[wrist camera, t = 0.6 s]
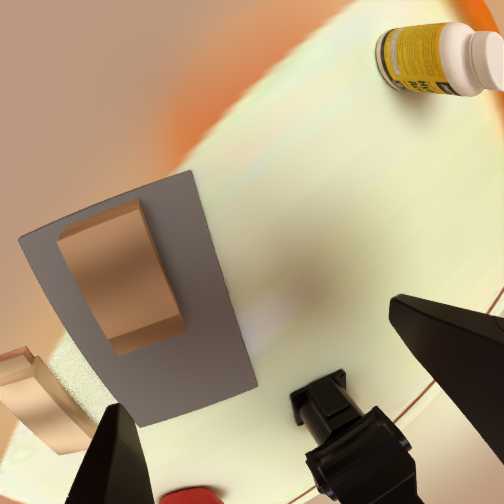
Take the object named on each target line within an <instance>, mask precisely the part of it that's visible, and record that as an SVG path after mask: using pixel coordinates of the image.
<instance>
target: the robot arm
mask: <svg viewBox="0 0 504 504" xmlns="http://www.w3.org/2000/svg"><path fill="white" fill-rule="evenodd" d="M389 321H390V323H391V325H392V326H393V327H394V329H395V330H396V332H397V333H398V334H399V336H400V337H401V339H402V340H403V341H404V343H405V344H406V346H407V347H408V349H409V350H410V351H411V353H412V354H413V355H414V356H415V358H416V359H417V360H418V361H419V362H420V363H421V365H422V366H423V367H424V368H425V369H426V370H427V372H428V373H429V374H430V375H431V376H432V377H433V378H434V380H435V381H436V382H437V383H438V384H439V385H440V387H441V388H442V389H443V390H444V391H445V393H446V394H447V395H448V396H449V397H450V398H451V400H452V401H453V402H454V403H455V404H456V406H458V408H459V409H460V410H461V412H462V413H463V414H464V415H465V416H466V418H467V419H468V420H469V421H470V422H471V424H472V425H473V426H474V428H475V429H476V430H477V431H478V433H479V434H480V435H481V437H482V438H483V439H484V440H485V442H486V443H487V444H488V445H489V446H490V448H491V449H492V450H493V451H494V453H495V454H496V455H497V457H498V458H499V459H500V461H501V462H502V463H503V465H504V318H501V317H497V316H493V315H492V316H491V315H489V314H485V313H480V312H476V311H472V310H468V309H463V308H459V307H455V306H451V305H447V304H443V303H438V302H434V301H430V300H426V299H422V298H417V297H413V296H409V295H405V294H398V295H396V296H394V297H392V298H391V300H390V306H389ZM290 400H291V405H292V409H293V413H294V417H295V422H296V424H297V426H301V425H303V424H305V425H306V427H307V428H308V430H309V432H310V433H311V435H312V436H313V438H314V440H315V441H316V443H317V444H318V446H319V447H317V448H315V449H314V450H312V451H309V452H307V453H306V454H305V455H306V457H307V460H306V461H305V462H306V464H307V465H308V467H309V469H310V471H311V473H312V475H313V478H314V481H315V484H316V487H317V490H318V492H319V493H321V494H326V495H327V496H328V497H330V498H331V499H332V500H333V501H336V500H339V502H340V503H341V504H424V503H423V501H422V500H421V499H420V498H419V496H418V495H417V481H416V464H415V461H414V459H413V458H412V457H411V455H410V454H409V453H408V451H410V450H411V449H412V447H411V445H410V443H409V442H408V440H407V439H406V438H405V436H404V435H403V434H402V432H401V431H400V430H399V429H398V428H397V426H396V425H395V424H394V423H393V422H392V421H391V420H390V419H389V418H388V417H387V416H386V415H385V414H384V413H383V412H382V411H381V410H380V409H379V408H378V406H377V405H376V406H375V407H373V408H372V410H371V411H369V412H368V413H367V414H364V413H363V412H362V410H361V409H360V408H359V407H358V405H357V404H356V403H355V402H354V400H353V399H352V398H351V397H350V395H349V394H348V393H347V392H346V372H345V371H344V370H340V371H338V372H336V373H334V374H332V375H330V376H328V377H326V378H324V379H322V380H320V381H318V382H316V383H314V384H312V385H309V386H307V387H305V388H303V389H301V390H299V391H297V392H294V393H293V394H291V395H290ZM68 496H69V497H67V499H66V501H65V504H155V503H154V498H153V493H152V489H151V484H150V478H149V473H148V468H147V464H146V461H145V457H144V454H143V450H142V447H141V443H140V440H139V436H138V432H137V429H136V425H135V422H134V420H133V418H132V417H131V415H130V414H129V413H128V411H127V410H126V409H125V407H124V406H123V405H122V404H121V403H115V404H112V405H109V406H108V407H107V408H106V410H105V412H104V414H103V417H102V419H101V421H100V423H99V425H98V427H97V430H96V432H95V434H94V436H93V438H92V441H91V443H90V445H89V447H88V449H87V452H86V454H85V456H84V459H83V461H82V463H81V465H80V468H79V470H78V472H77V475H76V477H75V480H74V482H73V484H72V487H71V489H70V492H69V494H68Z"/></svg>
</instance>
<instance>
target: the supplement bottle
mask: <svg viewBox="0 0 504 504" xmlns="http://www.w3.org/2000/svg"><path fill="white" fill-rule="evenodd" d="M376 56H377V62H378V66H379V68H380V71H381V73H382V75H383V77H384V78H385V79H386V81H387V82H388V83H389V84H390V85H391V86H393V87H394V88H396V89H399V90H402V91H412V92H427V93H438V94H449V95H457V96H468V97H471V96H476V95H478V94H480V93H481V92H482V91H483V89H484V88H485V89H488V90H494V91H502V92H503V91H504V40H503V38H502V37H501V36H500V35H499V34H498V33H496V32H492V31H477V32H475V31H474V30H473V29H471V28H470V27H469V26H467V25H465V24H463V23H459V22H449V23H437V24H426V25H418V26H410V27H403V28H396V29H391V30H388V31H386V32H385V33H383V34H382V36H381V37H380V38H379V40H378V43H377V49H376Z"/></svg>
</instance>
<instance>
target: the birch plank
mask: <svg viewBox="0 0 504 504" xmlns="http://www.w3.org/2000/svg"><path fill="white" fill-rule="evenodd" d="M0 400H1V401H2V402H3V403H4V404H5V405H6V406H7V407H8V408H9V409H10V410H11V412H13V414H14V415H15V416H16V417H17V418H18V419H19V420H20V421H21V422H22V423H23V424H24V425H25V426H27V427H28V428H29V429H30V430H31V431H32V432H33V433H34V434H35V435H36V436H37V437H38V438H39V439H40V440H42V441H43V442H44V443H45V444H46V445H47V446H48V447H50V448H51V449H52V450H53V451H54V452H55V453H57V454H58V455H64V454H69V453H75V452H80V451H85V450H87V449H88V447H89V445H90V443H91V441H92V438H93V436H94V434H95V432H96V430H97V427H98V426H97V425H96V424H95V423H94V422H93V421H92V420H91V419H90V418H89V417H88V415H87V414H86V413H85V412H84V411H83V410H82V409H81V408H80V407H79V406H78V404H77V403H76V402H75V401H74V400H73V399H72V398H71V396H70V395H69V394H68V393H67V392H66V390H65V389H64V388H63V387H62V386H61V384H60V383H59V382H58V381H57V379H56V378H55V377H54V376H53V374H52V373H51V372H50V371H49V369H48V368H47V367H46V364H45V363H44V362H43V360H42V359H41V358H40V357H39V356H35V357H34V356H33V355H32V353H31V352H30V351H29V349H28V348H27V346H24V347H21V348H19V349H15V350H13V351H10V352H7V353H4V354H1V355H0Z"/></svg>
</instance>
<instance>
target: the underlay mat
mask: <svg viewBox="0 0 504 504" xmlns="http://www.w3.org/2000/svg"><path fill="white" fill-rule="evenodd" d="M137 198H139V201H140V204H141V207H142V210H143V213H144V215H145V218H146V221H147V224H148V227H149V229H150V232H151V235H152V237H153V240H154V243H155V246H156V248H157V251H158V253H159V256H160V259H161V261H162V264H163V266H164V269H165V271H166V274H167V277H168V279H169V281H170V284H171V286H172V289H173V291H174V294H175V298H176V301H177V305H178V308H179V310H180V313H181V315H182V317H183V320H184V322H185V324H186V327H187V331H188V332H185V333H182V334H180V335H177V336H174V337H171V338H168V339H166V340H163V341H160V342H157V343H154V344H152V345H149V346H146V347H143V348H140V349H137V350H134V351H131V352H128V353H125V354H122V355H119V356H118V355H117V353H116V352H115V350H114V349H113V347H112V345H111V344H110V342H109V340H108V339H107V337H106V336H105V334H104V332H103V331H102V329H101V327H100V325H99V324H98V322H97V320H96V319H95V317H94V315H93V313H92V311H91V310H90V308H89V306H88V304H87V302H86V301H85V299H84V297H83V295H82V293H81V291H80V289H79V287H78V286H77V284H76V282H75V280H74V278H73V276H72V274H71V272H70V270H69V268H68V266H67V264H66V261H65V259H64V257H63V255H62V253H61V251H60V249H59V246H58V244H57V240H58V238H59V236H60V235H61V233H62V231H63V229H64V228H65V227H66V226H68V225H71V224H73V223H76V222H78V221H80V220H83V219H85V218H88V217H90V216H93V215H95V214H98V213H100V212H103V211H105V210H108V209H110V208H113V207H116V206H118V205H121V204H123V203H126V202H129V201H131V200H134V199H137ZM18 241H19V244H20V246H21V248H22V250H23V252H24V254H25V256H26V258H27V260H28V263H29V264H30V267H31V268H32V270H33V272H34V274H35V276H36V278H37V280H38V282H39V284H40V286H41V288H42V289H43V291H44V293H45V295H46V297H47V298H48V300H49V302H50V304H51V305H52V307H53V309H54V310H55V312H56V313H57V315H58V317H59V319H60V320H61V322H62V324H63V325H64V327H65V328H66V330H67V332H68V333H69V335H70V336H71V338H72V339H73V341H74V342H75V344H76V345H77V347H78V348H79V350H80V351H81V353H82V354H83V356H84V357H85V359H86V360H87V362H88V363H89V364H90V366H91V367H92V369H93V370H94V371H95V373H96V374H97V375H98V377H99V378H100V379H101V381H102V382H103V383H104V385H105V386H106V387H107V389H108V390H109V391H110V393H111V394H112V395H113V396H114V398H115V399H116V400H117V401H118V403H121V404H122V405H123V406H124V407H125V409H126V410H127V411H128V413H129V414H130V415H131V417H132V418H133V420H134V422H135V423H136V424H137V425H138V426H139V427H140V428H141V427H145V426H148V425H152V424H155V423H158V422H162V421H165V420H168V419H171V418H174V417H177V416H180V415H183V414H186V413H189V412H192V411H195V410H198V409H201V408H204V407H207V406H209V405H212V404H215V403H218V402H220V401H223V400H226V399H228V398H231V397H233V396H236V395H239V394H241V393H244V392H246V391H249V390H251V389H254V388H256V387H258V384H257V381H256V378H255V375H254V372H253V369H252V367H251V364H250V361H249V358H248V355H247V352H246V348H245V345H244V342H243V339H242V336H241V333H240V330H239V327H238V324H237V321H236V318H235V315H234V312H233V308H232V305H231V302H230V299H229V296H228V293H227V289H226V286H225V283H224V280H223V277H222V273H221V270H220V267H219V264H218V260H217V257H216V254H215V250H214V247H213V244H212V240H211V237H210V234H209V230H208V227H207V224H206V220H205V217H204V213H203V210H202V207H201V203H200V200H199V196H198V193H197V189H196V186H195V182H194V179H193V175H192V171H191V170H188V171H185V172H182V173H179V174H176V175H173V176H170V177H167V178H164V179H161V180H158V181H156V182H153V183H150V184H147V185H144V186H141V187H139V188H136V189H133V190H131V191H128V192H125V193H122V194H120V195H117V196H114V197H112V198H109V199H107V200H104V201H102V202H99V203H97V204H94V205H92V206H89V207H87V208H85V209H82V210H79V211H77V212H75V213H72V214H70V215H67V216H65V217H63V218H61V219H58V220H56V221H54V222H51V223H50V224H47V225H45V226H43V227H41V228H38V229H36V230H34V231H32V232H30V233H28V234H25V235H23V236H21V237H20V238H19V239H18Z"/></svg>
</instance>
